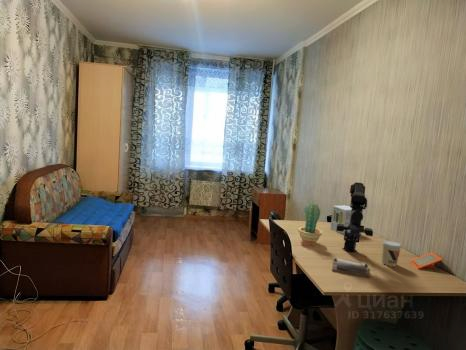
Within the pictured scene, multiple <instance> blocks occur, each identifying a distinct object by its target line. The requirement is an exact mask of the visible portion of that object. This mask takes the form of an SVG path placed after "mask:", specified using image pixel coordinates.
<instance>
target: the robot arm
mask: <svg viewBox="0 0 466 350" xmlns="http://www.w3.org/2000/svg"><path fill="white" fill-rule="evenodd" d="M349 194H350V197H351V198H350V205H349V207H350V208H352V209H351V217H350V224H349V225H348V227H345V226H344V224H337V229H336V231H335V232H337V231H341V232H343V231H344V230H346V231H345V233H344V234H343V241H344V244H343V247H342V250H344V251H347V253H355V252H358V250H357V249H356V246H357V243H359V242H360V239H361V236H362V233H363V234H364V235H366V237H373V236H374V230H373V228H369V227H365V225H362V221H363V219H364V214H363V213H364V210H366V209H367V207H368V198H367V197H366V186H365V185H364V183H363V182H354V183H353V184H351V185H350V188H349Z"/></svg>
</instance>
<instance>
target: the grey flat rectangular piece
mask: <svg viewBox="0 0 466 350" xmlns="http://www.w3.org/2000/svg"><path fill="white" fill-rule="evenodd" d="M336 260H337V268H338V269H343V270H348V271H354V272H359V273H364V274H365V271H366V268H365V264H366V263H365V262H362V261H357V260H351V259H345V258H339V257H337V258H336Z"/></svg>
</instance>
